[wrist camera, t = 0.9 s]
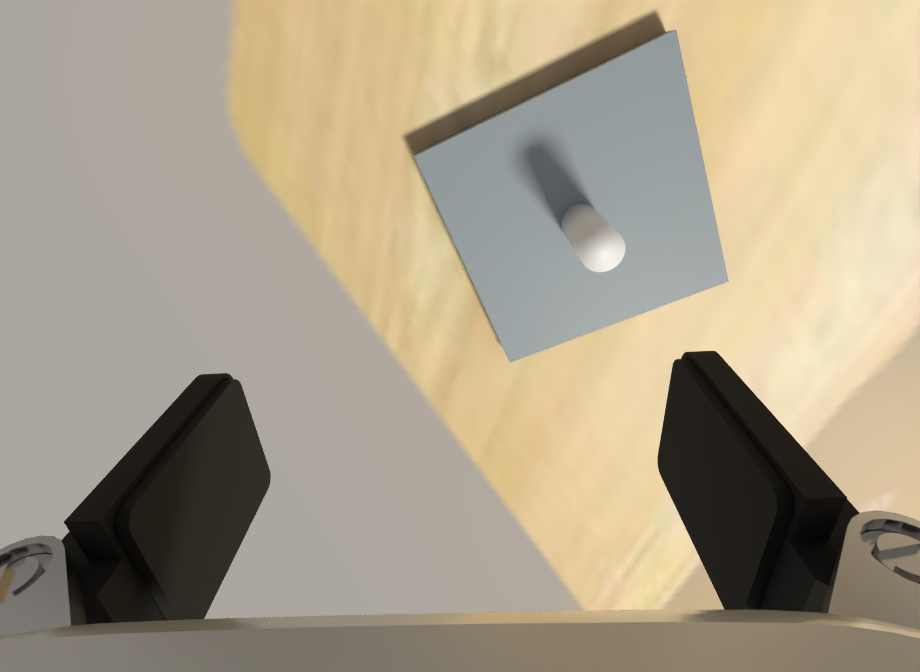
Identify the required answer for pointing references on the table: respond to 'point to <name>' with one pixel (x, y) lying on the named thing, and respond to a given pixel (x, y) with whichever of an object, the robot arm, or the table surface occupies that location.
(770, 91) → the table surface
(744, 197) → the table surface
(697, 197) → the peg stand
